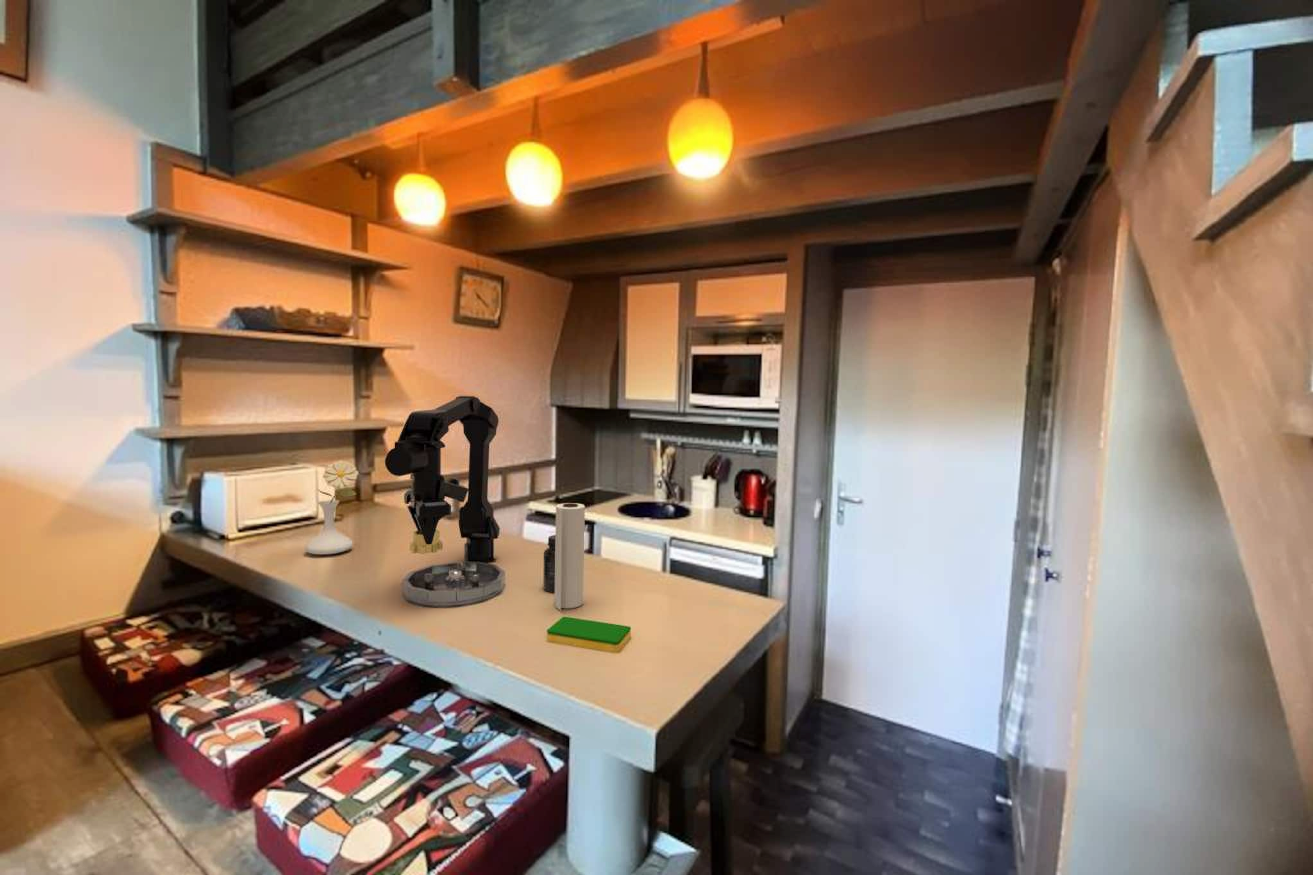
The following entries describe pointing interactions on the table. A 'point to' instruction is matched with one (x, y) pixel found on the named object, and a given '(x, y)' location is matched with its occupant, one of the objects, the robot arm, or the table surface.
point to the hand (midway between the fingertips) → (426, 541)
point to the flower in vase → (330, 537)
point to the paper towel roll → (569, 555)
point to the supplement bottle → (549, 565)
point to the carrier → (453, 584)
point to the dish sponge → (589, 634)
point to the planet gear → (421, 546)
